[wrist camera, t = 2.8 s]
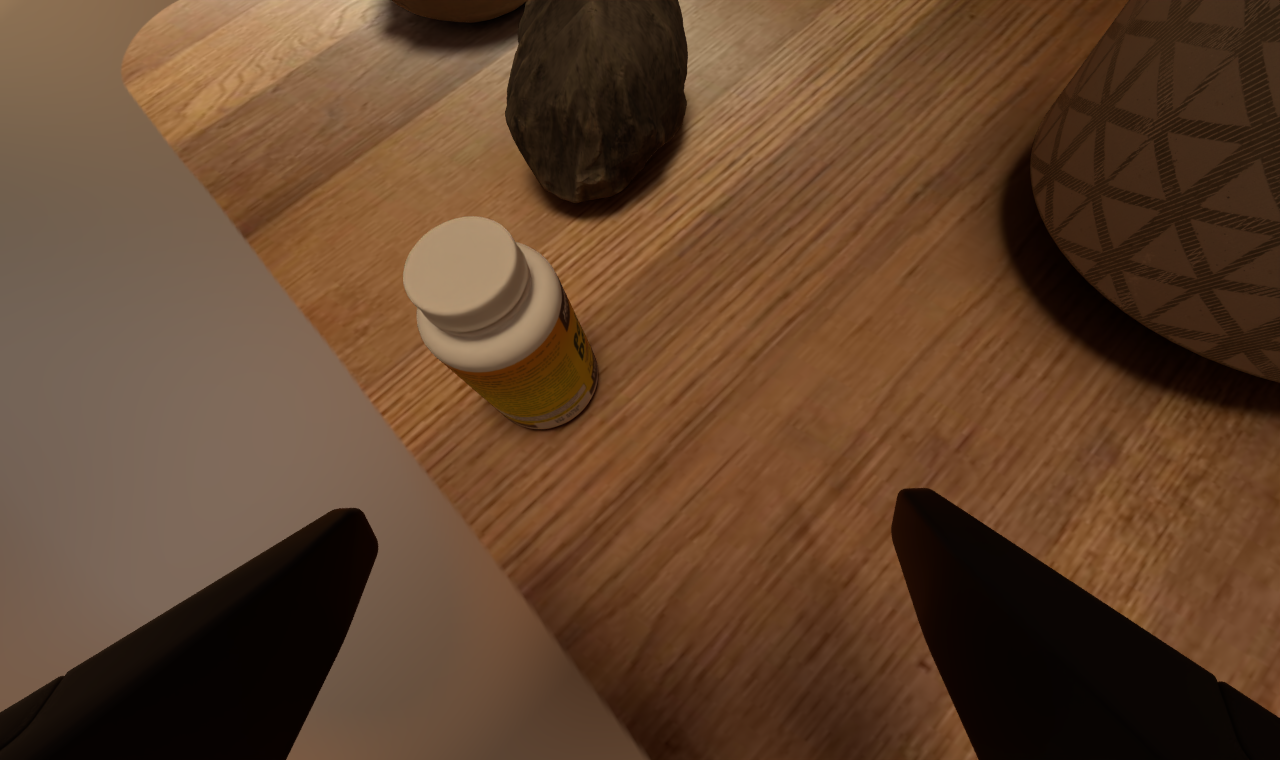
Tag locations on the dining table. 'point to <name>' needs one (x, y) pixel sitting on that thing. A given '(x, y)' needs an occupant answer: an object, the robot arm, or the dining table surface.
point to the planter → (1175, 174)
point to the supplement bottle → (501, 321)
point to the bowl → (460, 9)
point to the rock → (596, 91)
